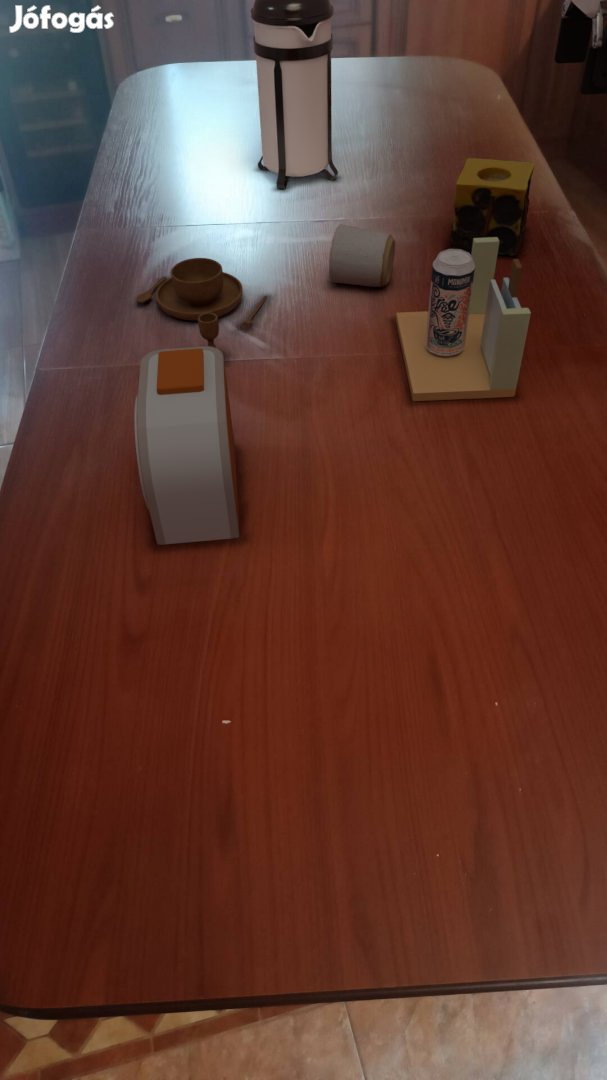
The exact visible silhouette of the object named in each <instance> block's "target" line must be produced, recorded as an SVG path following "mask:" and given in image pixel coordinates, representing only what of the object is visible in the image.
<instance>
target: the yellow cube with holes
mask: <svg viewBox="0 0 607 1080" xmlns="http://www.w3.org/2000/svg"><path fill="white" fill-rule="evenodd" d="M535 166H536V163H535V162H532V161H517V160H516V161H515V160H503V159H502V160H501V159H488V158H476V157H475V158H474V157H473V158H472V157H468V158H466V160H465V162H464V166H463V168H462V171H461V172H460V174H459V176H458V178H457V180H456V182H455V194H454V195H455V196H454V203H453V207H454V214H453V221H452V227H451V232H450V244H449V249H461V250H463V251H466V252H472V245H473V238H488V237H498V239H499V248H498V254H497V255H501V256H506V257H507V256H508V257H515V256H517V255H518V252H519V250H520V248H521V244H522V241H523V238H524V236H523V232H524V231H525V230H526V226H527V219H528V213H529V205H530V198H529V195H530V188H531V185H532V184H531V183H532V177H533V173H534V169H535Z"/></svg>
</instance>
